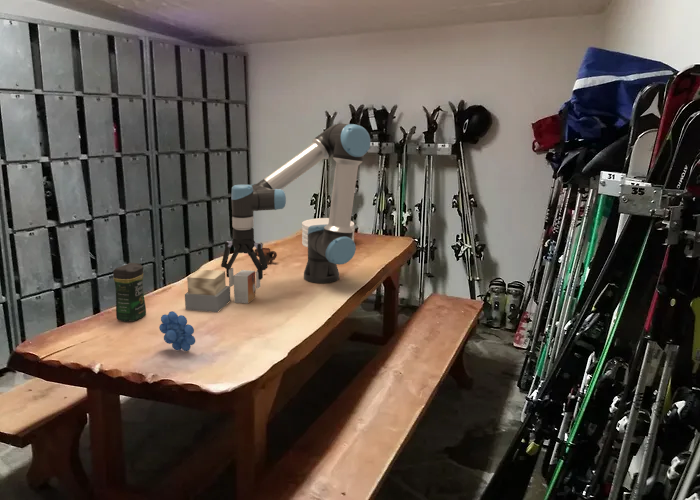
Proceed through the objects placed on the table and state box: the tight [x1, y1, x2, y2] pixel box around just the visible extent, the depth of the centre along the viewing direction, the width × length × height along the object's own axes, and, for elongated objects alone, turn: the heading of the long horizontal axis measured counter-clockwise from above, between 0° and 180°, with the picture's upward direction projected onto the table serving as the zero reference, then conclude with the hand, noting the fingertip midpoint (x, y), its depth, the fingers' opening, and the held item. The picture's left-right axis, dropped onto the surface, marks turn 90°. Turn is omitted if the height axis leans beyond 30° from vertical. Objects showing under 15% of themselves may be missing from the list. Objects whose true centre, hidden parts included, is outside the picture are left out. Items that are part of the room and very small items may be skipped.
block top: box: [186, 269, 227, 295], centre depth 193 cm, size 10×10×6 cm
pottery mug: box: [254, 247, 278, 266], centre depth 251 cm, size 12×10×8 cm
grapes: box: [158, 311, 196, 352], centre depth 156 cm, size 12×7×12 cm, turn 73°
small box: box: [233, 269, 257, 304], centre depth 200 cm, size 8×6×10 cm
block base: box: [184, 285, 231, 313], centre depth 195 cm, size 12×12×6 cm
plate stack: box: [301, 217, 355, 248], centre depth 290 cm, size 28×28×12 cm
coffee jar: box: [112, 262, 147, 323], centre depth 180 cm, size 10×8×19 cm
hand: (244, 286), depth 200 cm, fingers open, 10 cm apart
